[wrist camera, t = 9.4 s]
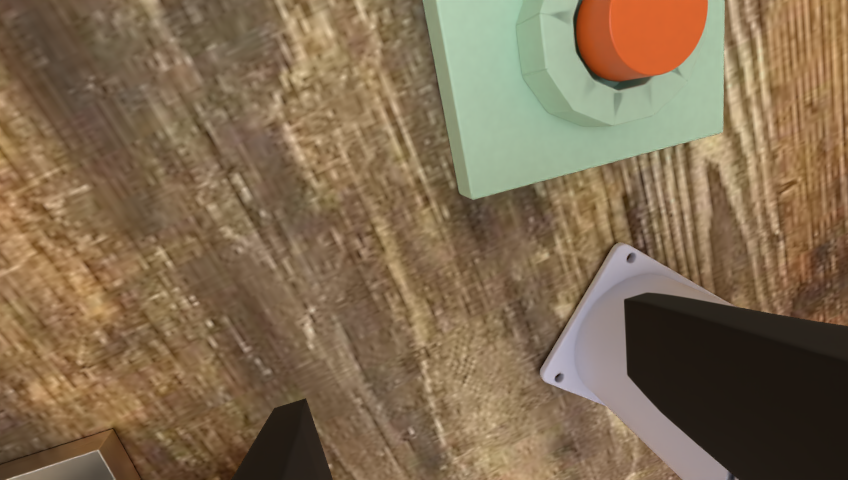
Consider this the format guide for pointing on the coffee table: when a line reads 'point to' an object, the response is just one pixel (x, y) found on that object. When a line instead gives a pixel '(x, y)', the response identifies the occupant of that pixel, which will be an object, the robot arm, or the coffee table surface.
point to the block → (557, 94)
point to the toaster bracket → (75, 461)
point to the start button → (638, 35)
